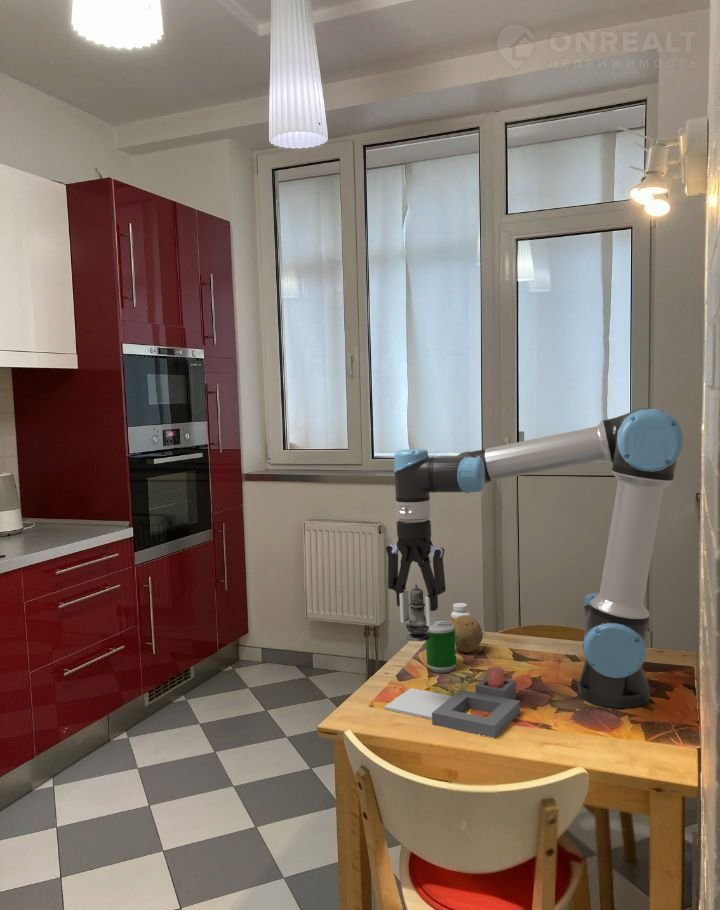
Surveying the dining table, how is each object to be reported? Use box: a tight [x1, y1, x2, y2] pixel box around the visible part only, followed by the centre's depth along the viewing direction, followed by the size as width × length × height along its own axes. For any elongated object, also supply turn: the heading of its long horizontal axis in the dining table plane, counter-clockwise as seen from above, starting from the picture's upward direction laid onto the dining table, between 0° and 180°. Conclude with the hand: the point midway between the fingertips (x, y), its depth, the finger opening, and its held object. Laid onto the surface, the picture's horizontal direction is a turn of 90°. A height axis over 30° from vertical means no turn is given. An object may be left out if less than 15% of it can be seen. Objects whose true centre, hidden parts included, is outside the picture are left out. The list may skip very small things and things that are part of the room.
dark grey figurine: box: [404, 584, 430, 642], centre depth 165 cm, size 6×6×12 cm
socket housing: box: [431, 676, 521, 739], centre depth 161 cm, size 14×21×4 cm
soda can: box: [425, 618, 457, 674], centre depth 188 cm, size 8×8×12 cm
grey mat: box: [383, 687, 453, 721], centre depth 167 cm, size 12×12×1 cm
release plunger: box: [486, 666, 505, 688], centre depth 167 cm, size 4×4×6 cm
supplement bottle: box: [450, 602, 471, 623], centre depth 211 cm, size 5×5×10 cm
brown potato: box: [453, 615, 484, 654], centre depth 200 cm, size 9×9×10 cm
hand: (417, 622), depth 165 cm, fingers closed on dark grey figurine, 6 cm apart
